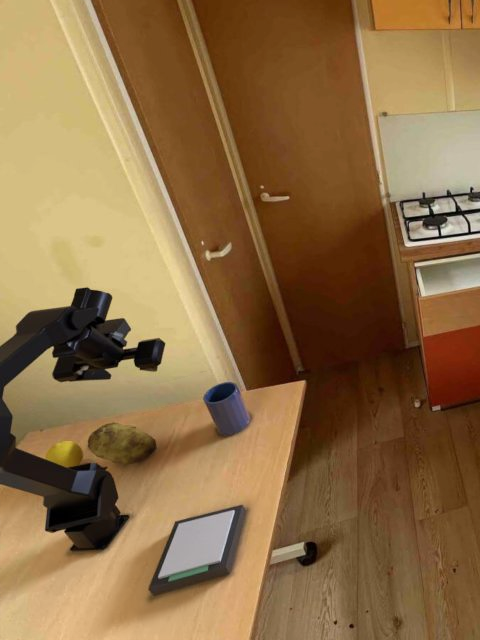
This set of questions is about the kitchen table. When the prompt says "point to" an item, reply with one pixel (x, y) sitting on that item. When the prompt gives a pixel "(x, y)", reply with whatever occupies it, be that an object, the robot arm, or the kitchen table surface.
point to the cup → (227, 408)
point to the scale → (199, 550)
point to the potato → (121, 443)
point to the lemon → (65, 454)
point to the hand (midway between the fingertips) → (133, 373)
